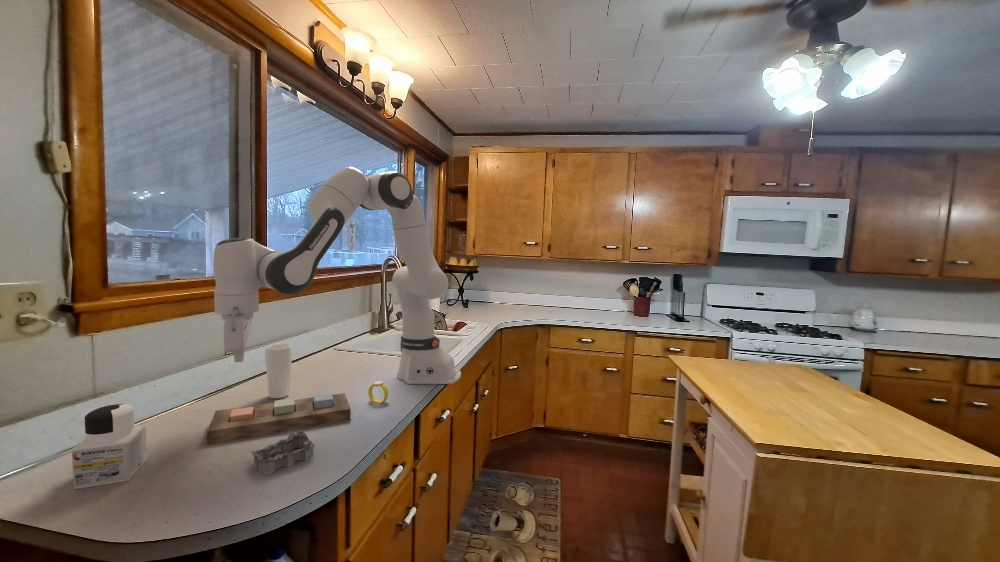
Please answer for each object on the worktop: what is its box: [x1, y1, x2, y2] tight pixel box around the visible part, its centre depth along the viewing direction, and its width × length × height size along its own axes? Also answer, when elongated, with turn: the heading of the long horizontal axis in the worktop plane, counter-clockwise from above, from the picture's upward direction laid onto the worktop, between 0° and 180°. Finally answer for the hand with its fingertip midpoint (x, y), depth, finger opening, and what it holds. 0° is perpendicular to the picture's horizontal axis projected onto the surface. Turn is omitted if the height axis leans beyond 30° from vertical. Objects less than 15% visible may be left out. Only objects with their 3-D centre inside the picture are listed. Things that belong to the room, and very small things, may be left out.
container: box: [71, 403, 148, 490], centre depth 73 cm, size 8×8×13 cm
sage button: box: [274, 398, 295, 415], centre depth 97 cm, size 4×4×3 cm
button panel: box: [206, 392, 352, 445], centre depth 98 cm, size 30×12×3 cm, turn 119°
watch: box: [367, 380, 389, 404], centre depth 112 cm, size 6×3×6 cm, turn 71°
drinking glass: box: [264, 343, 293, 399], centre depth 113 cm, size 7×7×15 cm
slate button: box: [313, 392, 333, 409], centre depth 102 cm, size 4×4×3 cm
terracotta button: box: [230, 406, 254, 422], centre depth 93 cm, size 4×4×3 cm
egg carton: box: [251, 429, 316, 474], centre depth 80 cm, size 11×8×4 cm
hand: (239, 360), depth 94 cm, fingers closed
